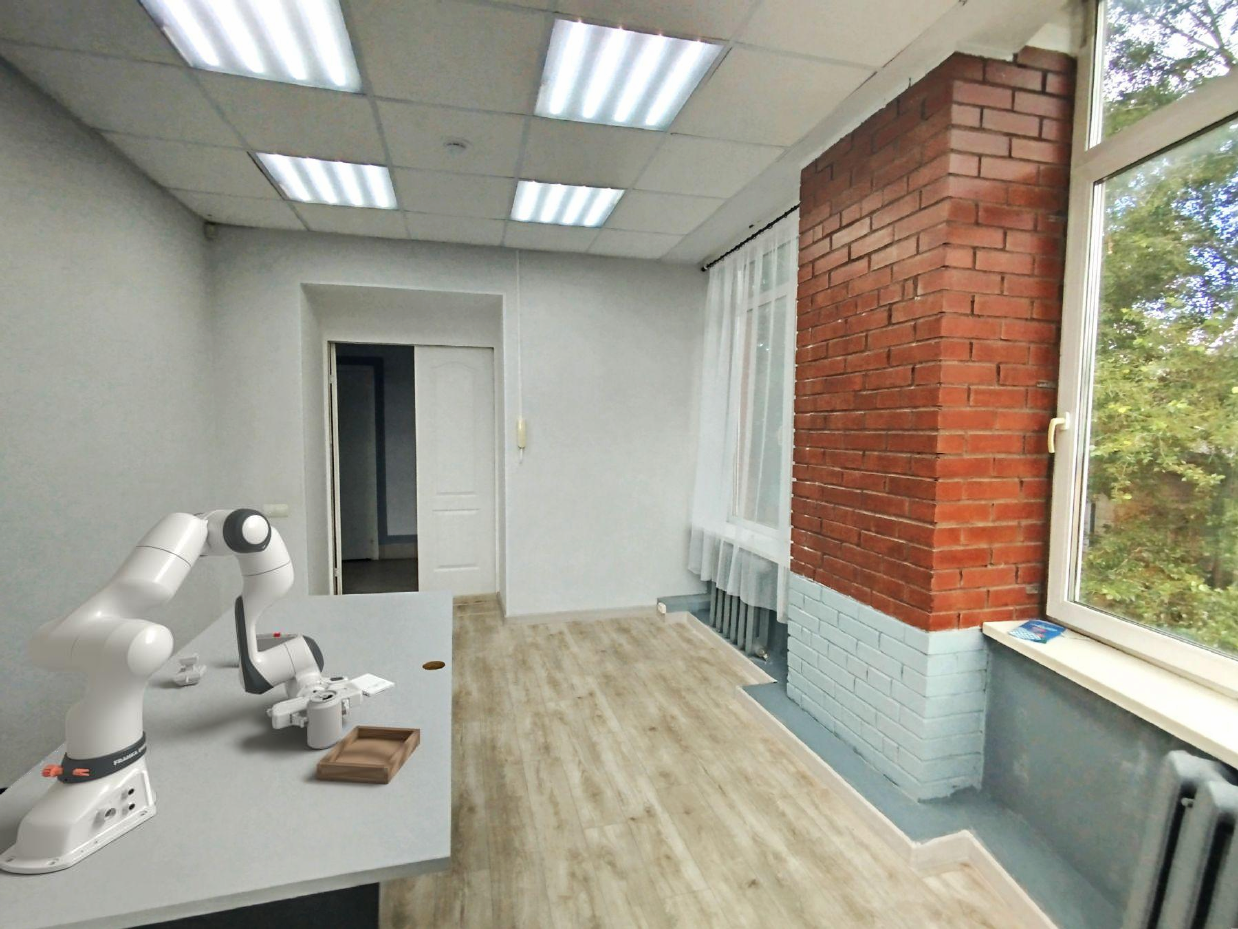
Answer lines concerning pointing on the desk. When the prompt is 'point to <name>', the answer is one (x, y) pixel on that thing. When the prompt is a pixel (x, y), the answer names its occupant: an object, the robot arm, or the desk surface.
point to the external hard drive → (371, 684)
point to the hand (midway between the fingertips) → (325, 717)
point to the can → (324, 719)
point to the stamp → (189, 670)
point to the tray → (369, 754)
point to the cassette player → (272, 640)
